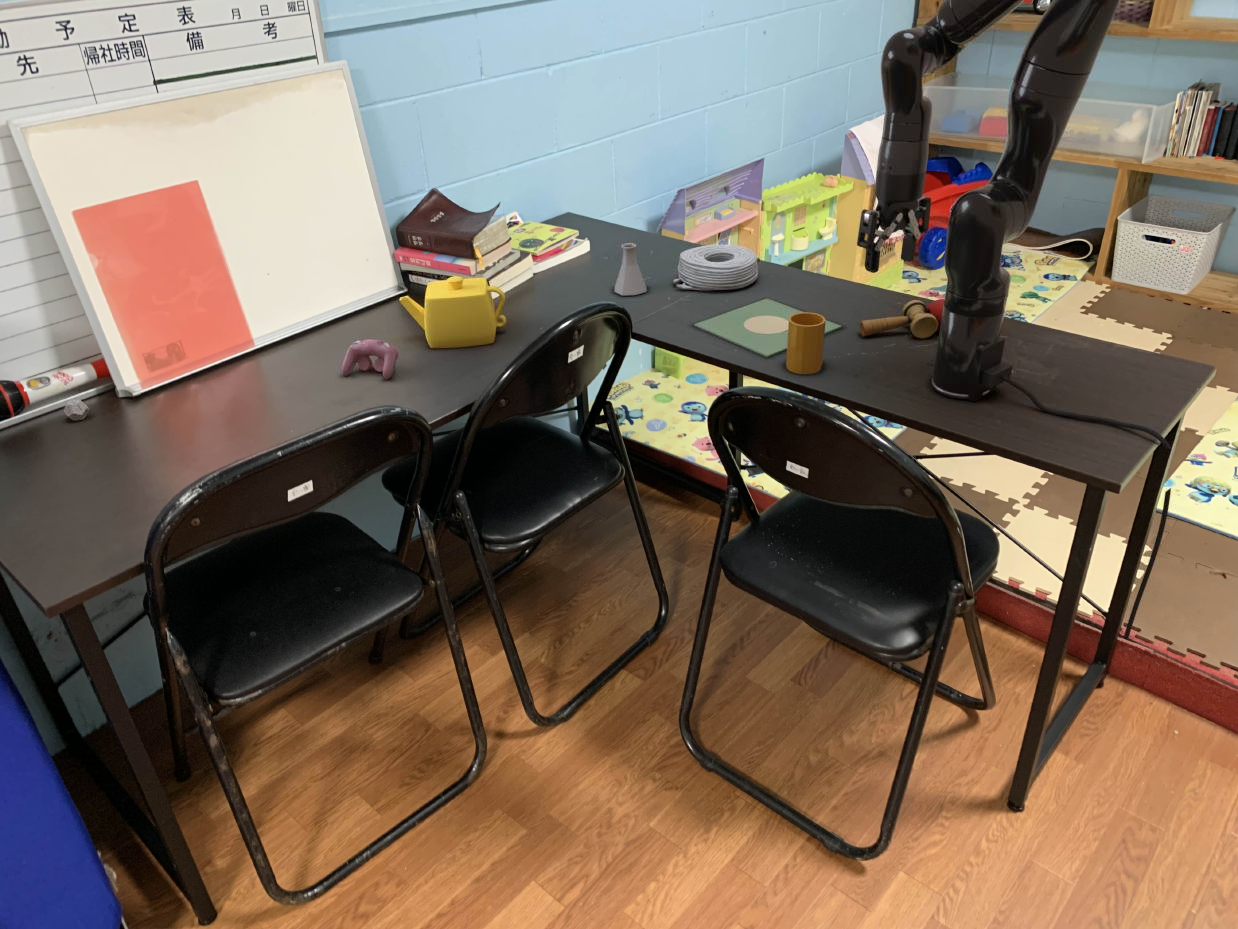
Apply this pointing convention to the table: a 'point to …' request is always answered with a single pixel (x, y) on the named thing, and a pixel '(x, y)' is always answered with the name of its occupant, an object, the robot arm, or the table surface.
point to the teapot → (458, 312)
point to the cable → (717, 268)
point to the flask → (629, 273)
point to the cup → (805, 343)
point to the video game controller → (361, 354)
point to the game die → (76, 410)
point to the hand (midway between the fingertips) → (889, 265)
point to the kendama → (909, 319)
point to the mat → (757, 326)
